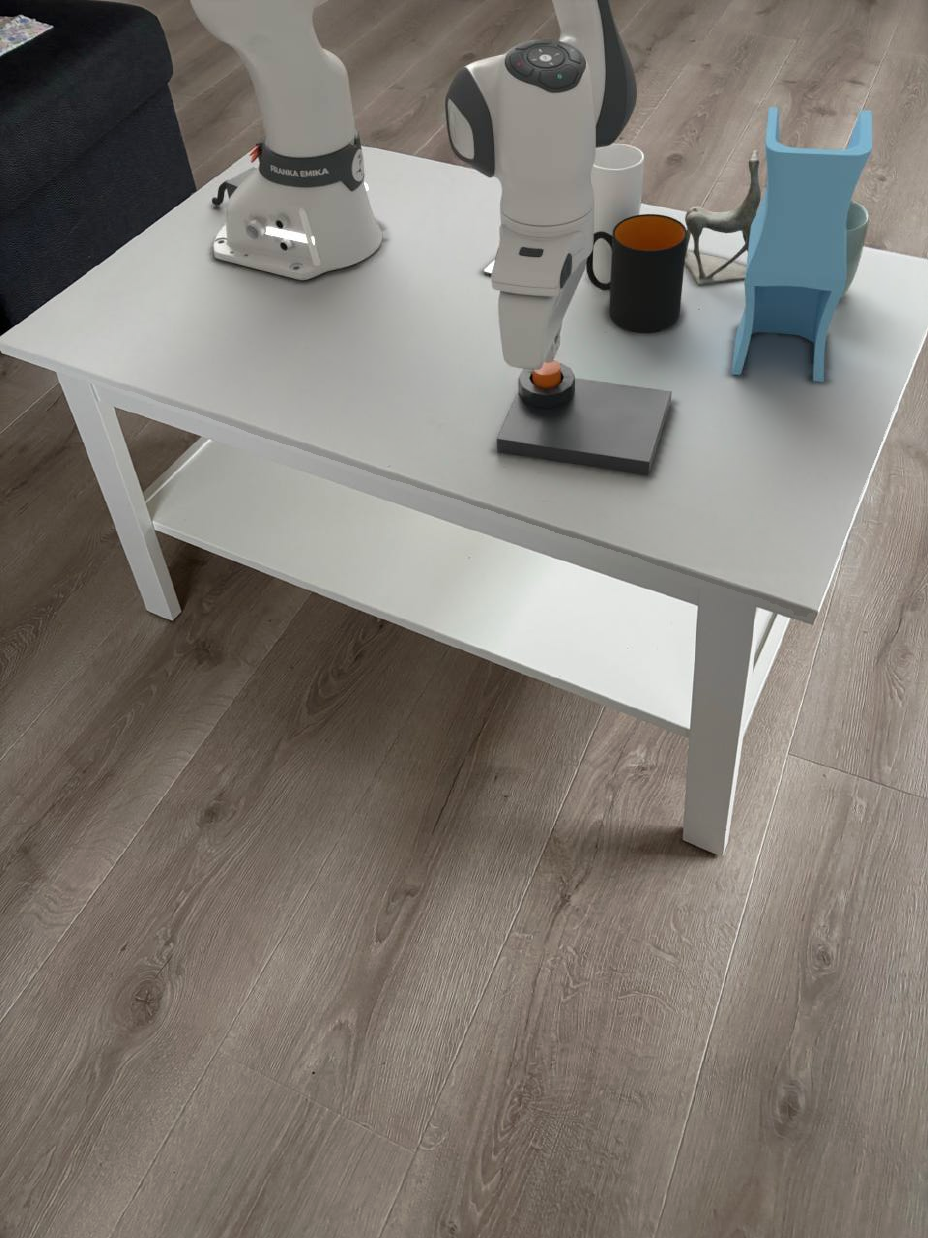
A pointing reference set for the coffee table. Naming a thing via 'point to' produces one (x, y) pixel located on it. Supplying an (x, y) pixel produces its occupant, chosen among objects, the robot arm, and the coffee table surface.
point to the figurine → (726, 222)
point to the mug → (644, 272)
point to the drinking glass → (614, 197)
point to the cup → (855, 239)
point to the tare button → (547, 375)
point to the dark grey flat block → (586, 423)
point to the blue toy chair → (800, 240)
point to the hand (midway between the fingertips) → (548, 354)
